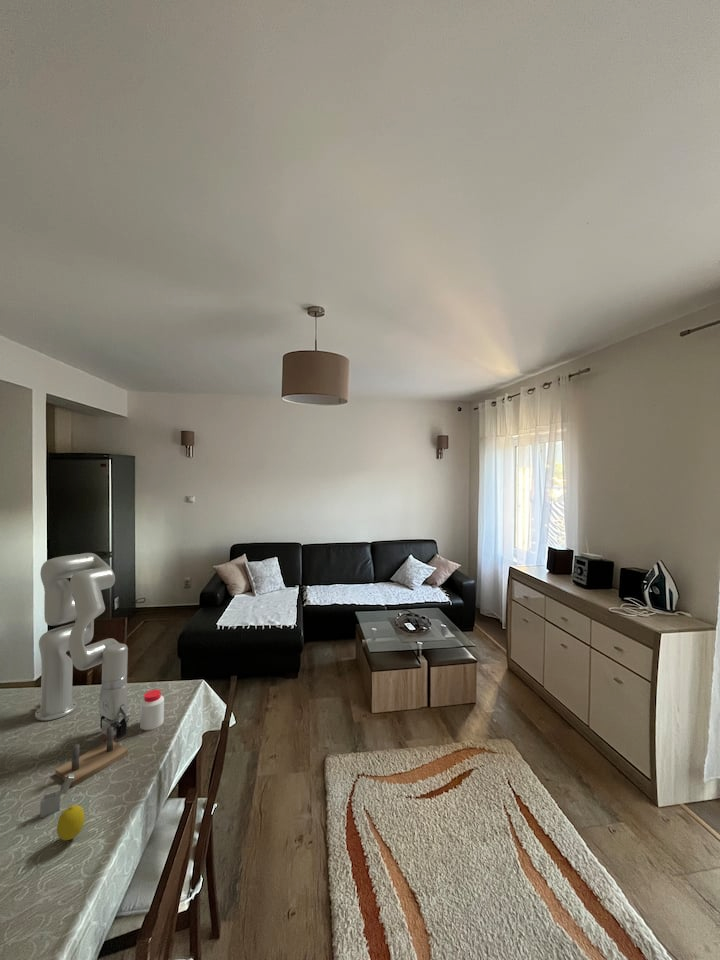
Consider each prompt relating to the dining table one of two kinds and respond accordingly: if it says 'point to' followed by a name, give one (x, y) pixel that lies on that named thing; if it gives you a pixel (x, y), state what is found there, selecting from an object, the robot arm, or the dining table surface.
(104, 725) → the sleeve
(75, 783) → the pin board
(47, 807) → the grey flat piece
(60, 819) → the lemon
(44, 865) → the dining table surface
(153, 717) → the pill bottle
